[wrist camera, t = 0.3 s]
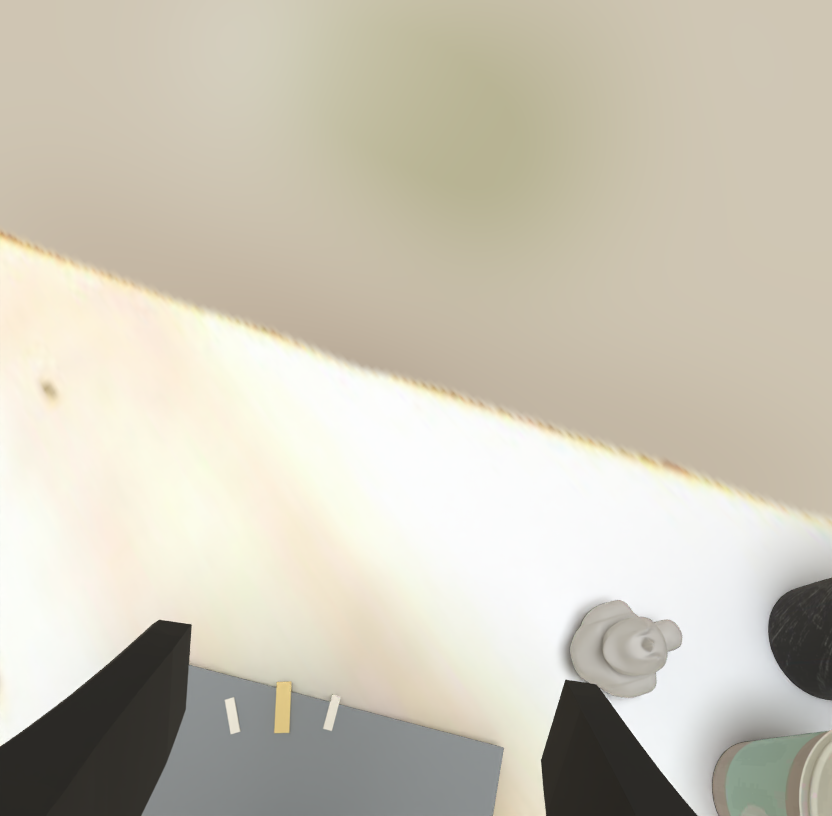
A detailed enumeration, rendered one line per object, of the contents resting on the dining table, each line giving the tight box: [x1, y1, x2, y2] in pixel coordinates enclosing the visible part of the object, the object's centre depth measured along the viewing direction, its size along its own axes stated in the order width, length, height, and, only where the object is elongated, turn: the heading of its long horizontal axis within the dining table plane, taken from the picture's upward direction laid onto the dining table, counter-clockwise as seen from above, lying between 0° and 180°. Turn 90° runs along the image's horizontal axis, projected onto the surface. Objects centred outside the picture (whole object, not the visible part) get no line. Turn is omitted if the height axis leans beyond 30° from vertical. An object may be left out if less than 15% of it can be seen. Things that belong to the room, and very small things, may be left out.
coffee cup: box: [712, 730, 832, 816], centre depth 35 cm, size 8×9×12 cm
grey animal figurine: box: [570, 600, 682, 698], centre depth 39 cm, size 5×7×8 cm
